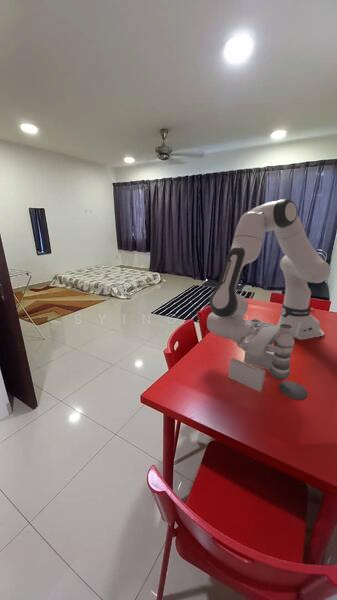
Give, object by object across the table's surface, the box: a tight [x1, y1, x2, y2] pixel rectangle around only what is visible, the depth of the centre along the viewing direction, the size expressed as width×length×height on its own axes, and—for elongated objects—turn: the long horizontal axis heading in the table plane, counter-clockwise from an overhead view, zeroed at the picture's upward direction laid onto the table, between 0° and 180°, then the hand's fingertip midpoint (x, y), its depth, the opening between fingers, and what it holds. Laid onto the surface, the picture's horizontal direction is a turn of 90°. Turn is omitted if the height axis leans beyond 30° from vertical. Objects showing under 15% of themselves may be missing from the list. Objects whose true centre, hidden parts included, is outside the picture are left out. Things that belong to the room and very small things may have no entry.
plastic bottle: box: [269, 324, 296, 381], centre depth 83 cm, size 6×7×20 cm
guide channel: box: [228, 351, 274, 393], centre depth 91 cm, size 12×16×8 cm
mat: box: [278, 380, 309, 401], centre depth 84 cm, size 9×9×1 cm
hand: (286, 346), depth 81 cm, fingers closed on plastic bottle, 6 cm apart
